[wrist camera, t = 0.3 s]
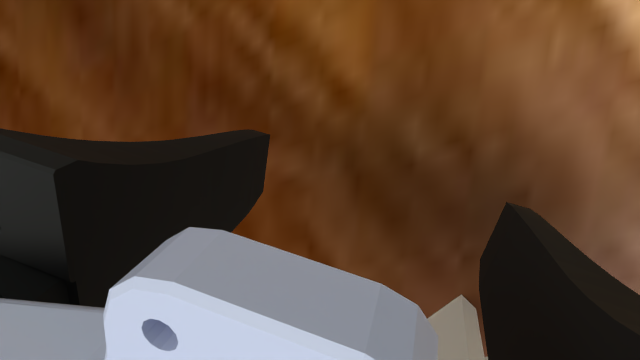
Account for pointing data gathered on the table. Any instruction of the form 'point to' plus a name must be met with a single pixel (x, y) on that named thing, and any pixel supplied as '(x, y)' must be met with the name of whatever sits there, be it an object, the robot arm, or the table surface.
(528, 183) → the table surface
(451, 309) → the domino
